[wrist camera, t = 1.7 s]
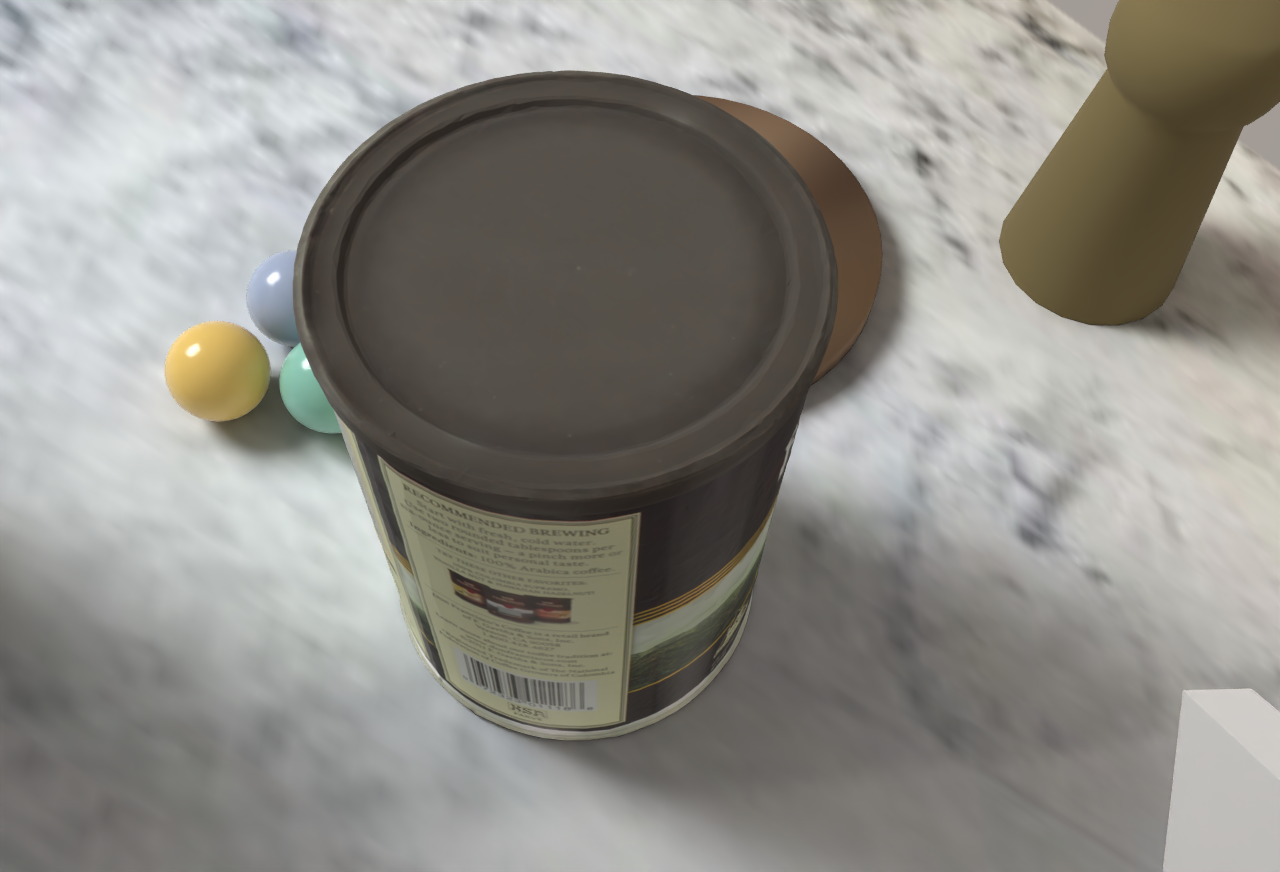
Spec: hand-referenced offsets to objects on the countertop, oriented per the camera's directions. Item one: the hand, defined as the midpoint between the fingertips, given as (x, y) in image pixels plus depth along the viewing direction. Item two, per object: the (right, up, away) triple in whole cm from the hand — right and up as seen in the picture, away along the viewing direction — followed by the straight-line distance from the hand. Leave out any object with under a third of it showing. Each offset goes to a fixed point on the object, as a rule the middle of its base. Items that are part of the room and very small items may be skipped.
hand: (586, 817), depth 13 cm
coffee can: (-1, 0, +22) cm, 22 cm away
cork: (+16, +10, +29) cm, 34 cm away
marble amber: (-12, +5, +24) cm, 28 cm away
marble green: (-9, +5, +24) cm, 26 cm away
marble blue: (-10, +8, +26) cm, 29 cm away
